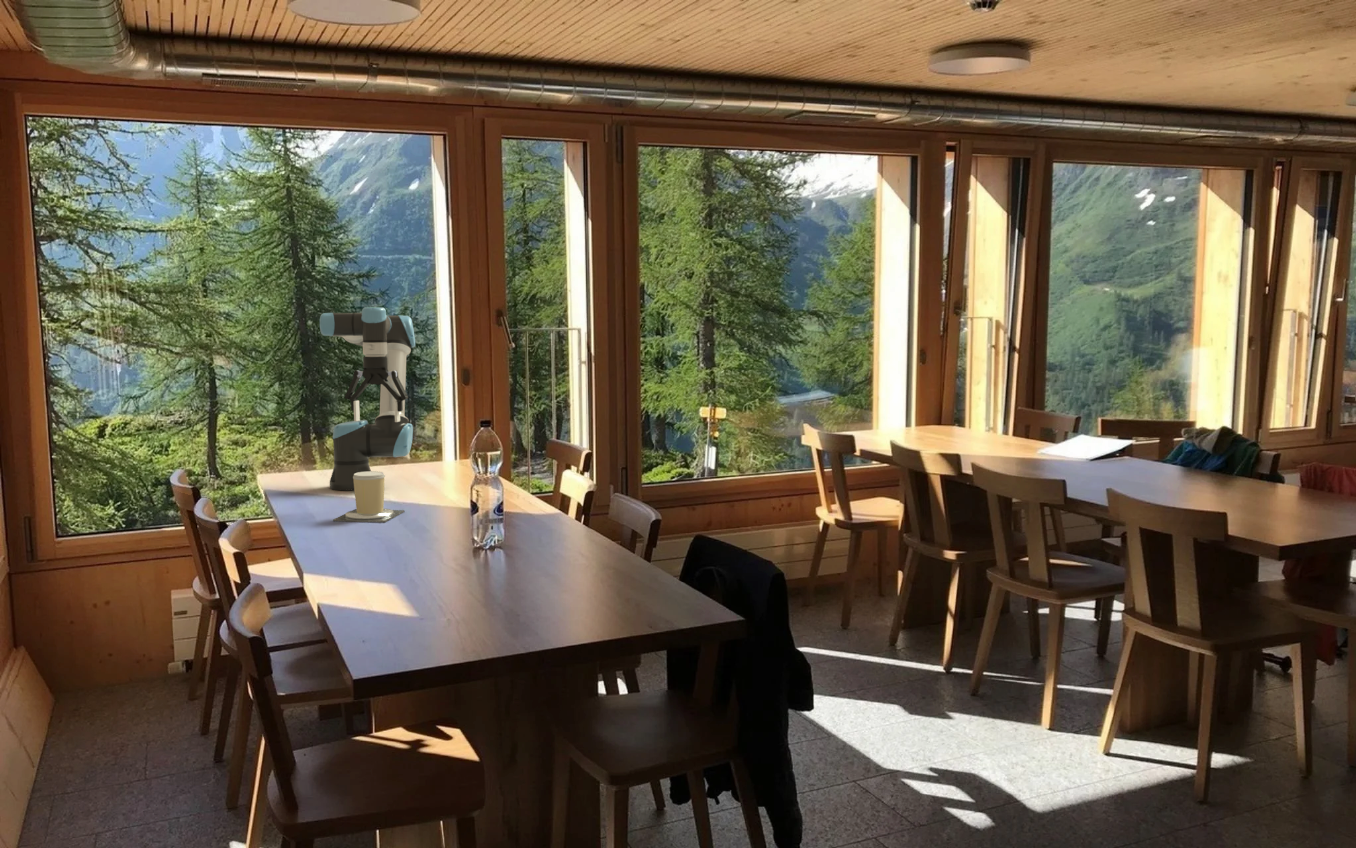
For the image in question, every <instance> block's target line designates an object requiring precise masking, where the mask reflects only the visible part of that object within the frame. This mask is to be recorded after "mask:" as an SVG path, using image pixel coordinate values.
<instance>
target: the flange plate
mask: <svg viewBox="0 0 1356 848" xmlns="http://www.w3.org/2000/svg"><path fill="white" fill-rule="evenodd" d="M405 511H406V510H403V509H399V510H398V509H390V508H385V507H383V512H382V513H380V514H374V515H360V514H357V509H356V508H355V509H353V510H350V511H347V512H345V513H344V514H342V515H339V516H337V517H336V518H334V519H332V522H346V523H347V522H348V523H349V522H351V523H379V524H381V523H384V524H385V523H387V522H389V521H391V520H392V519H394V518H396V517H398V516H400V515H402V514H404V513H405Z"/></svg>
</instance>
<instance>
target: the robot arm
mask: <svg viewBox="0 0 1356 848" xmlns="http://www.w3.org/2000/svg"><path fill="white" fill-rule="evenodd" d="M319 330H320V333H321V335H322V336H325V337H326V336H327V337H340V338H343V339H344V340H345V341H346V342H347V343H350V344H354V345H357V346H361V347H362V354H363V355H364V356H363V358H362V363H363V365H362V366H363V367H362V368H363V370H360V369H357V370H354V371H353V377H352V380H351V382H350V385H349V386H348V389H347V391H346V393H345V395H344V398H345V399H346V400H348V401H349V400H350V409H351V411H352V412H353V420H352V421H345V422H341V423H338V424H335V425H334V427H333V428H332V430H333V431H332V432H333V434H332V442H333V445H332V446H333V468H332V469H333V470H332V472H331V476H330V478H329V489H330V490H333V491H334V490H335V491H355V490H354V479H353V476H354V474H355V473H358V472H366V471H372V470H371V467H370V463H369V462H370V461H369V459H370V458H399V457H406V456H407V455H409V453H410V451H411V449H412V444H413V435H414V434H413V433H414V426H413V424H412V423H410V422H409V418H408V417H407V416H405V409H406V408H405V407H406V400H407V399H409V396H408V393H407V391H406V381H407V379H406V378H407V377H406V376H407V356H409V355H410V354H411V353H412V352H411V351H412V349H413V348H415V347H416V337H415V336H416V335H415V331H414V324H413V320H412V317H410V316H408V315H400V314H398V315H387V311H386V309H385V307H378V306H377V307H363V308H362V310H361V312H325V313H324V312H323V313H322V314H321V315H320V317H319ZM362 376H363V378H364V380H363V381H362V382H361V384H360V386H359V387H358V388H357V385H358V383H359V381H360V378H361V377H362ZM369 385H379V386H380V395H379V396H380V398H379V415H377V416H376V417H375V419H374V423H371V424H369V422H368V420H367V419H360V418H361V417H360V414H361V413H360V400H358V398H359V397H360V396H361V395H362V393H364V391H365V389H367V387H368V386H369ZM356 388H357V389H356ZM355 390H356V391H355Z"/></svg>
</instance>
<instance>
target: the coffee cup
mask: <svg viewBox="0 0 1356 848" xmlns="http://www.w3.org/2000/svg"><path fill="white" fill-rule="evenodd" d="M385 477H386V474H385V473H384V472H383V471H377V470H375V471H374V470H371V471H366V472H358V473H355V474H354V476H353V479H354V490H353V491H354V498H355V499H354V501H355V509H357V514H360V515H374V514H380V513H382V512H383V508H385V507H384V502H385Z"/></svg>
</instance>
